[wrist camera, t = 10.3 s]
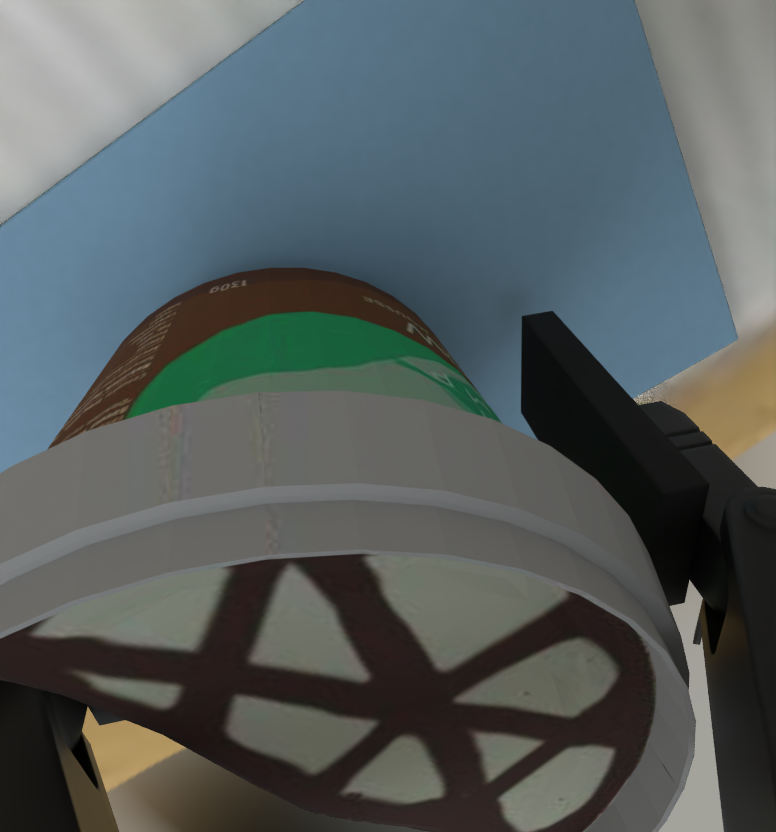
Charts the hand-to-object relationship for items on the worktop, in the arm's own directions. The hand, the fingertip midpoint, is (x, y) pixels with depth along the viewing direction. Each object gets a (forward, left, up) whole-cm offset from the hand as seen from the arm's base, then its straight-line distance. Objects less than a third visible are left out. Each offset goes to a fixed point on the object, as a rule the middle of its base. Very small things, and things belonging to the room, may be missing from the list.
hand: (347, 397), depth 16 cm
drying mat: (0, 0, -3) cm, 3 cm away
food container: (-1, 0, -1) cm, 1 cm away
